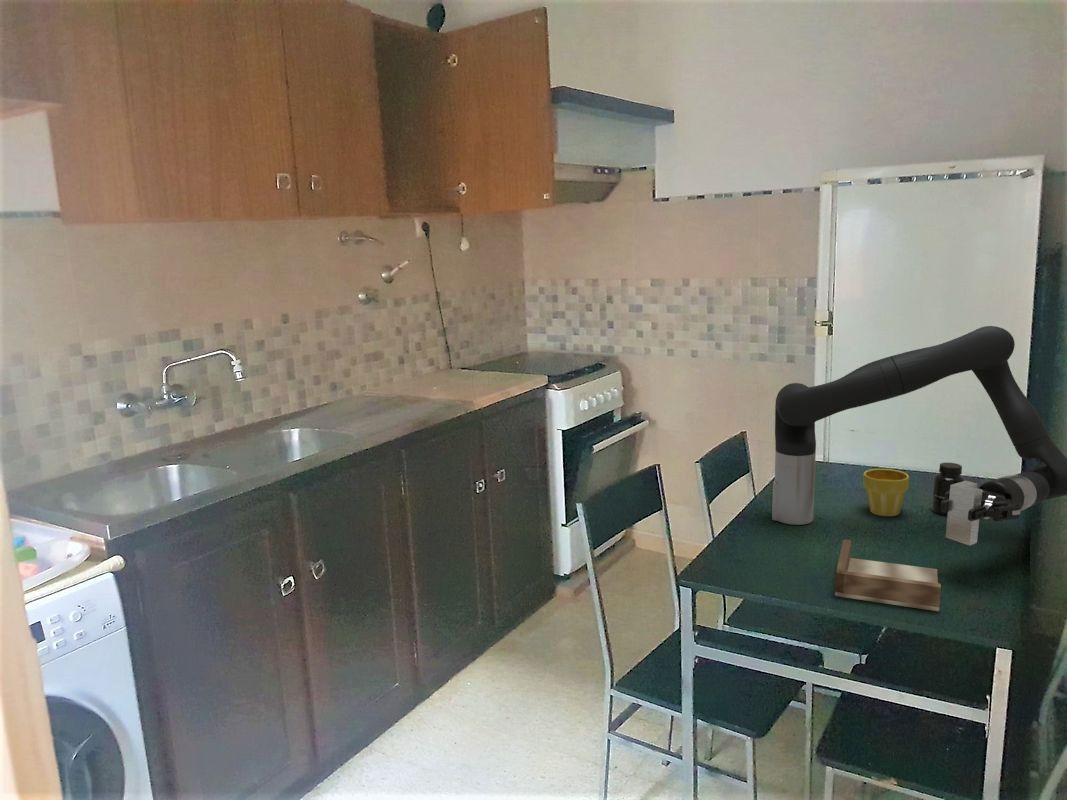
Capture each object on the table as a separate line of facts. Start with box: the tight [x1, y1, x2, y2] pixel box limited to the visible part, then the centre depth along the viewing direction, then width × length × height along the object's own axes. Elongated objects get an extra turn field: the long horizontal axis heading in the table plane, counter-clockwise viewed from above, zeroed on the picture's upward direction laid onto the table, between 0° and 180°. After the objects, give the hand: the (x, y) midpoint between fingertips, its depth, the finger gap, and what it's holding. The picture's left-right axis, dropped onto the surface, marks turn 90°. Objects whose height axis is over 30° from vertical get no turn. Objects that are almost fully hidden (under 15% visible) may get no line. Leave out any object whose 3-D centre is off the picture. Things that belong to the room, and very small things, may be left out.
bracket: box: [945, 480, 982, 546], centre depth 157 cm, size 5×5×11 cm
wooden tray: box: [834, 538, 942, 612], centre depth 158 cm, size 18×18×5 cm
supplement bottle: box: [931, 462, 966, 517], centre depth 194 cm, size 7×7×12 cm
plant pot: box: [862, 468, 910, 517], centre depth 196 cm, size 10×10×10 cm
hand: (956, 511), depth 155 cm, fingers closed on bracket, 5 cm apart
